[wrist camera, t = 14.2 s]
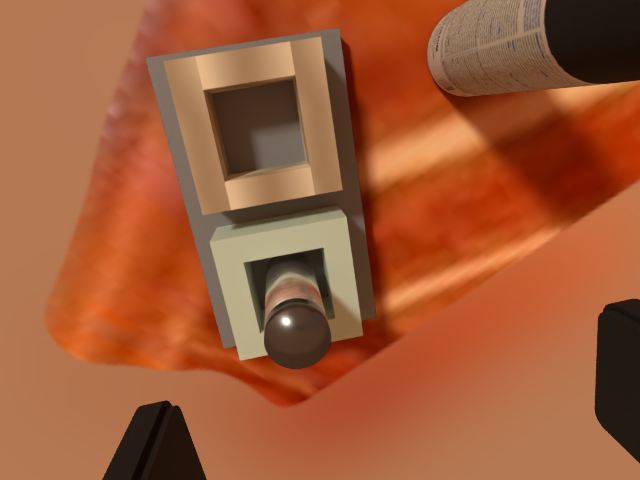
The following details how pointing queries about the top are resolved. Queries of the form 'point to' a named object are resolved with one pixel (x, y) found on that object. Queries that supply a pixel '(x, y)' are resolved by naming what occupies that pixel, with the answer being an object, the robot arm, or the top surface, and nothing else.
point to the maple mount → (205, 136)
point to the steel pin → (294, 313)
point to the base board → (269, 165)
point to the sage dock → (275, 240)
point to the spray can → (535, 45)
